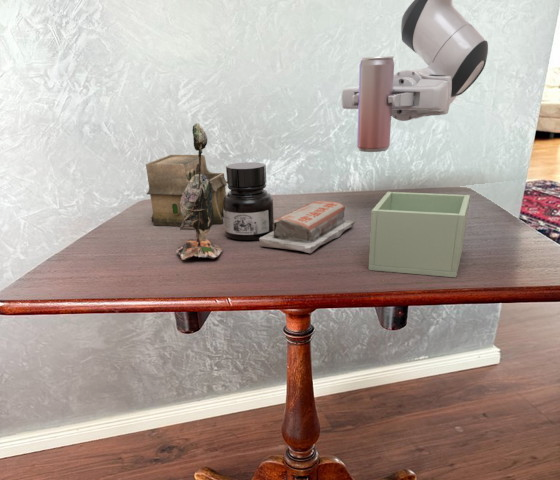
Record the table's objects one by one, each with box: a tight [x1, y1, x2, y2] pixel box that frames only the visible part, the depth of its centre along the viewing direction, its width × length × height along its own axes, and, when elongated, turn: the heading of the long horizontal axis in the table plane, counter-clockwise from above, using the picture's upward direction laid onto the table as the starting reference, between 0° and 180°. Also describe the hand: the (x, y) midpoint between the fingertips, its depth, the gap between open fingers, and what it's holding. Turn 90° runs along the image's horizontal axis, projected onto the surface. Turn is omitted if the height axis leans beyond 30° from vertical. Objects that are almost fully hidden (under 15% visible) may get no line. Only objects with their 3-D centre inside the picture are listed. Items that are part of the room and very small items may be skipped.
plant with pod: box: [175, 122, 224, 260], centre depth 86 cm, size 8×11×20 cm
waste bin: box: [368, 191, 471, 279], centre depth 82 cm, size 13×13×9 cm
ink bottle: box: [223, 161, 275, 241], centre depth 96 cm, size 10×9×12 cm
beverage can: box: [356, 56, 395, 153], centre depth 97 cm, size 6×6×15 cm
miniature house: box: [145, 154, 228, 231], centre depth 107 cm, size 15×14×11 cm
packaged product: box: [258, 200, 356, 254], centre depth 95 cm, size 18×5×10 cm
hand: (373, 100), depth 96 cm, fingers closed on beverage can, 6 cm apart
